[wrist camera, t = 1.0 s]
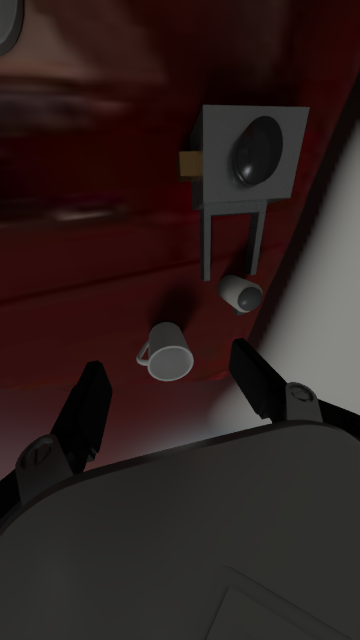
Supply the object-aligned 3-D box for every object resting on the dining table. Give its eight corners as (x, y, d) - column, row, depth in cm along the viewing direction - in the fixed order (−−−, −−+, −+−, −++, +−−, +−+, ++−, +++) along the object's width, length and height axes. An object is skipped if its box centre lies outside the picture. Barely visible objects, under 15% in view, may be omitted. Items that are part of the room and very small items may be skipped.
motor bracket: (171, 136, 22) (181, 92, 16) (274, 135, 24) (322, 96, 18) (181, 280, 32) (190, 291, 26) (254, 271, 34) (279, 279, 28)
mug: (185, 320, 37) (197, 345, 28) (180, 349, 41) (189, 379, 32) (139, 318, 34) (136, 345, 26) (138, 349, 38) (135, 382, 29)
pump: (217, 276, 33) (238, 286, 26) (240, 273, 34) (268, 282, 26) (216, 305, 37) (234, 322, 29) (237, 302, 37) (260, 317, 30)
